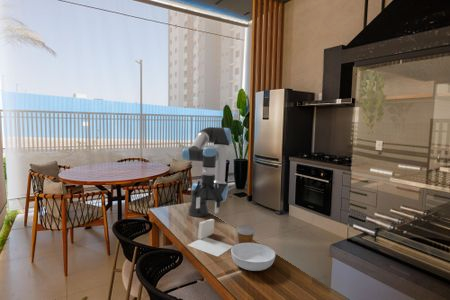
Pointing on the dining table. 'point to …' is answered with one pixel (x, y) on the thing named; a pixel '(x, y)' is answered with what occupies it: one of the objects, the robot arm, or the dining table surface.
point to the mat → (210, 246)
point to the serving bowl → (253, 256)
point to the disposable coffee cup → (245, 234)
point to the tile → (205, 228)
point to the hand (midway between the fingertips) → (206, 210)
